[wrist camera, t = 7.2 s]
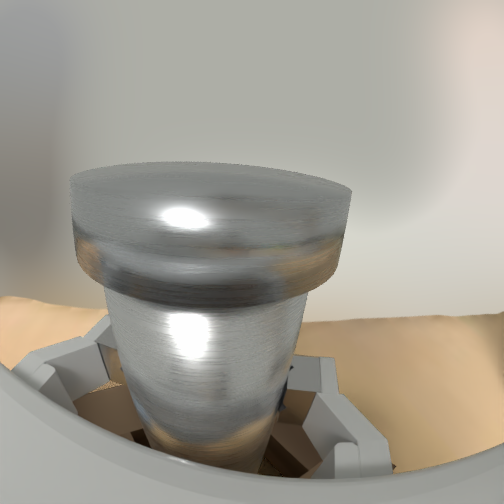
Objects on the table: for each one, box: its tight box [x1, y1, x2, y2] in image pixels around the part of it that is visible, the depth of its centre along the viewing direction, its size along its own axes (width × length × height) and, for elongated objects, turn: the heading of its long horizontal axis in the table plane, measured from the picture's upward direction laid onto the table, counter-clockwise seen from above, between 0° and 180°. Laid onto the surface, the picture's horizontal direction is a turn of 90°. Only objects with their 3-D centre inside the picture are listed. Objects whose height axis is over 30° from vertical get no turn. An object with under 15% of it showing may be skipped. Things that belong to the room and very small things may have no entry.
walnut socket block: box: [72, 385, 396, 479], centre depth 11 cm, size 14×14×3 cm
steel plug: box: [70, 162, 352, 474], centre depth 8 cm, size 6×6×14 cm
